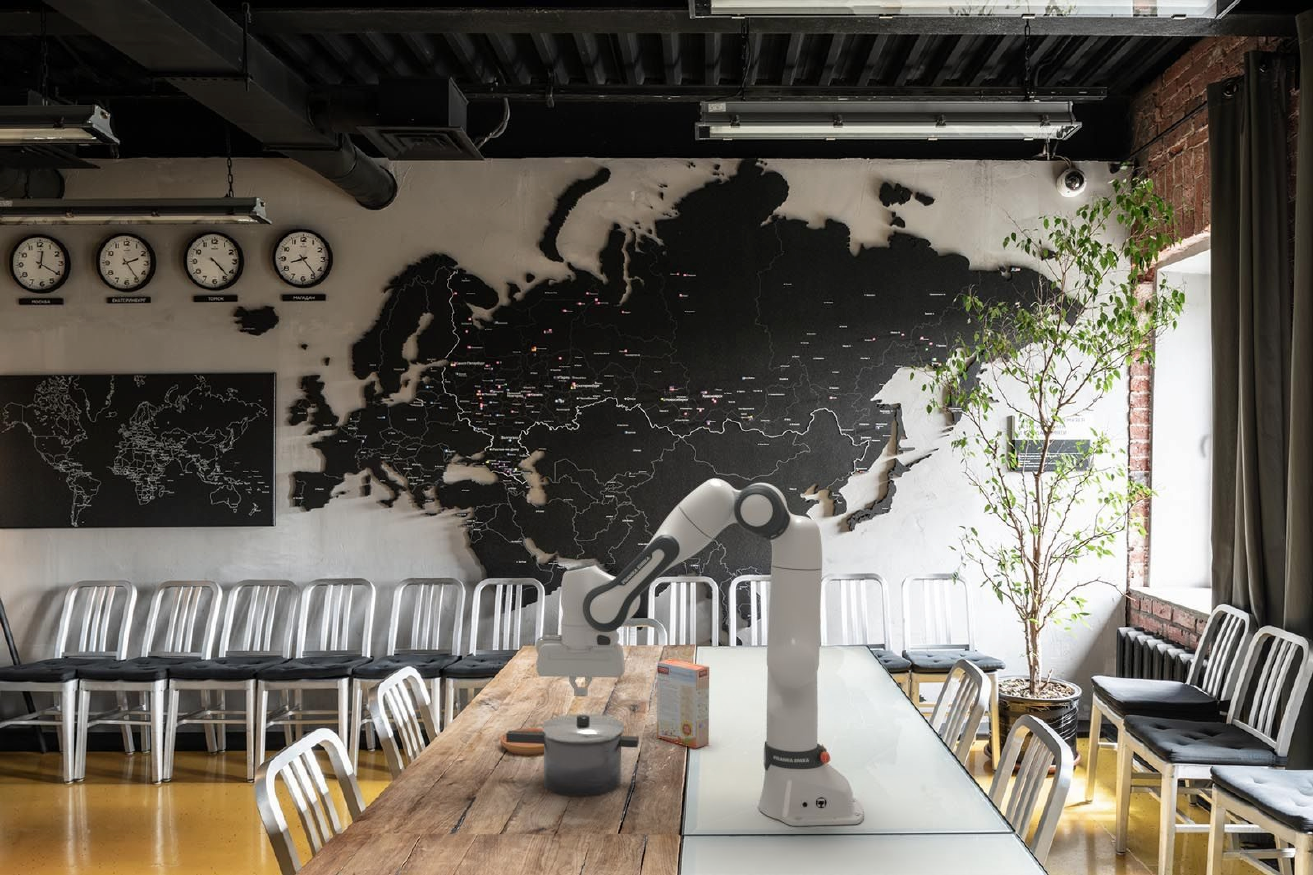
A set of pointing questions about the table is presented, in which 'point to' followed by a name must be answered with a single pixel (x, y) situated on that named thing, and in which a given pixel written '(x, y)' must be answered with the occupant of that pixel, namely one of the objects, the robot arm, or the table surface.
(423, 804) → the table surface
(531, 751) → the saucer
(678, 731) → the cracker box
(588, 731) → the pot lid
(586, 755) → the cooking pot
